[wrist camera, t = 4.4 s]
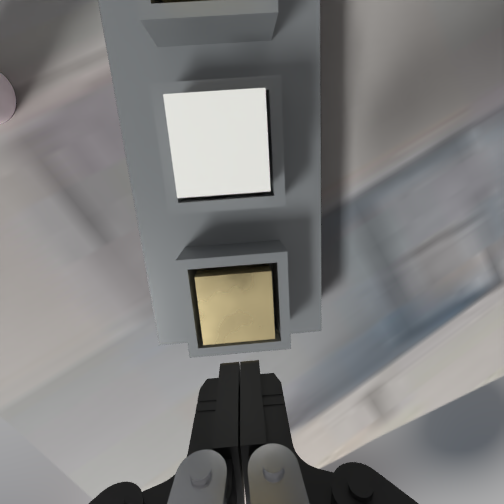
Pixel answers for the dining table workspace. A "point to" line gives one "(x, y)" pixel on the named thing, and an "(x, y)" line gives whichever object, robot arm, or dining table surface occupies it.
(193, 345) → the console
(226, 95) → the white square block
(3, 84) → the smoothie
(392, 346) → the dining table surface
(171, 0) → the brass metal cube
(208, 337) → the gold square block
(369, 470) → the robot arm
